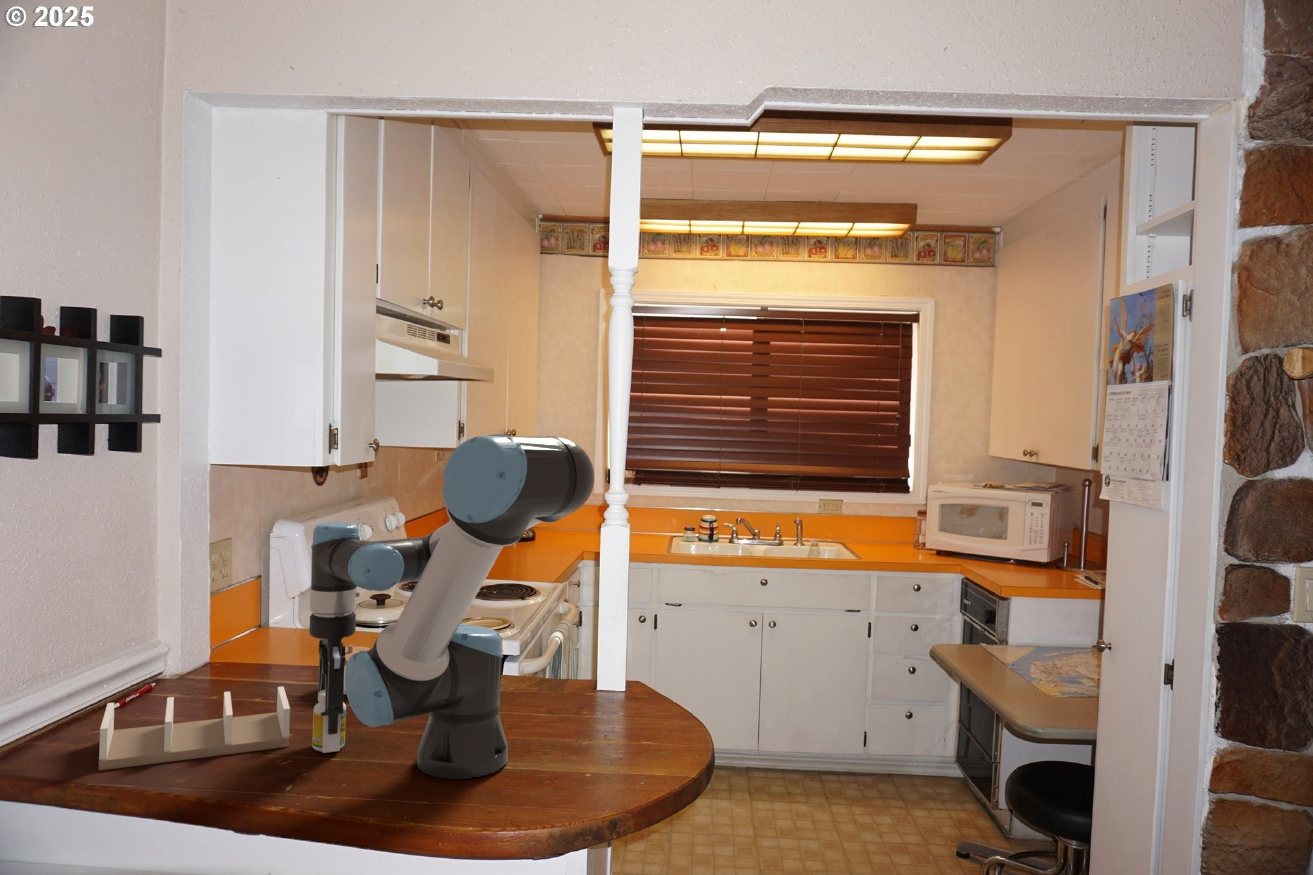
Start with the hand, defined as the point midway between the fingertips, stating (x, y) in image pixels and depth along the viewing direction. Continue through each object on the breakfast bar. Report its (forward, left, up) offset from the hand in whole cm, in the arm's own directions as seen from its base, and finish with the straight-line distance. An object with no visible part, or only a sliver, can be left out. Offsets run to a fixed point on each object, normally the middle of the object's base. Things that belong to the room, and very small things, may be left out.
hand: (328, 744), depth 151 cm
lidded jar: (+31, -8, -1) cm, 32 cm away
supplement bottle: (0, 0, -1) cm, 0 cm away
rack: (+10, +20, -1) cm, 23 cm away
